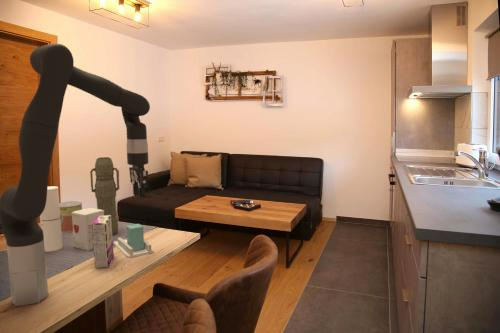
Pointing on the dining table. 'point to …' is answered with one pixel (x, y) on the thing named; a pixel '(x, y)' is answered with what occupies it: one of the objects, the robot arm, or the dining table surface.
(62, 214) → the canned food
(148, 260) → the dining table surface
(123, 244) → the chute
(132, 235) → the block
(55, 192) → the cylindrical container
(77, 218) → the supplement box
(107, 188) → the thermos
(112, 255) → the candy bar box
